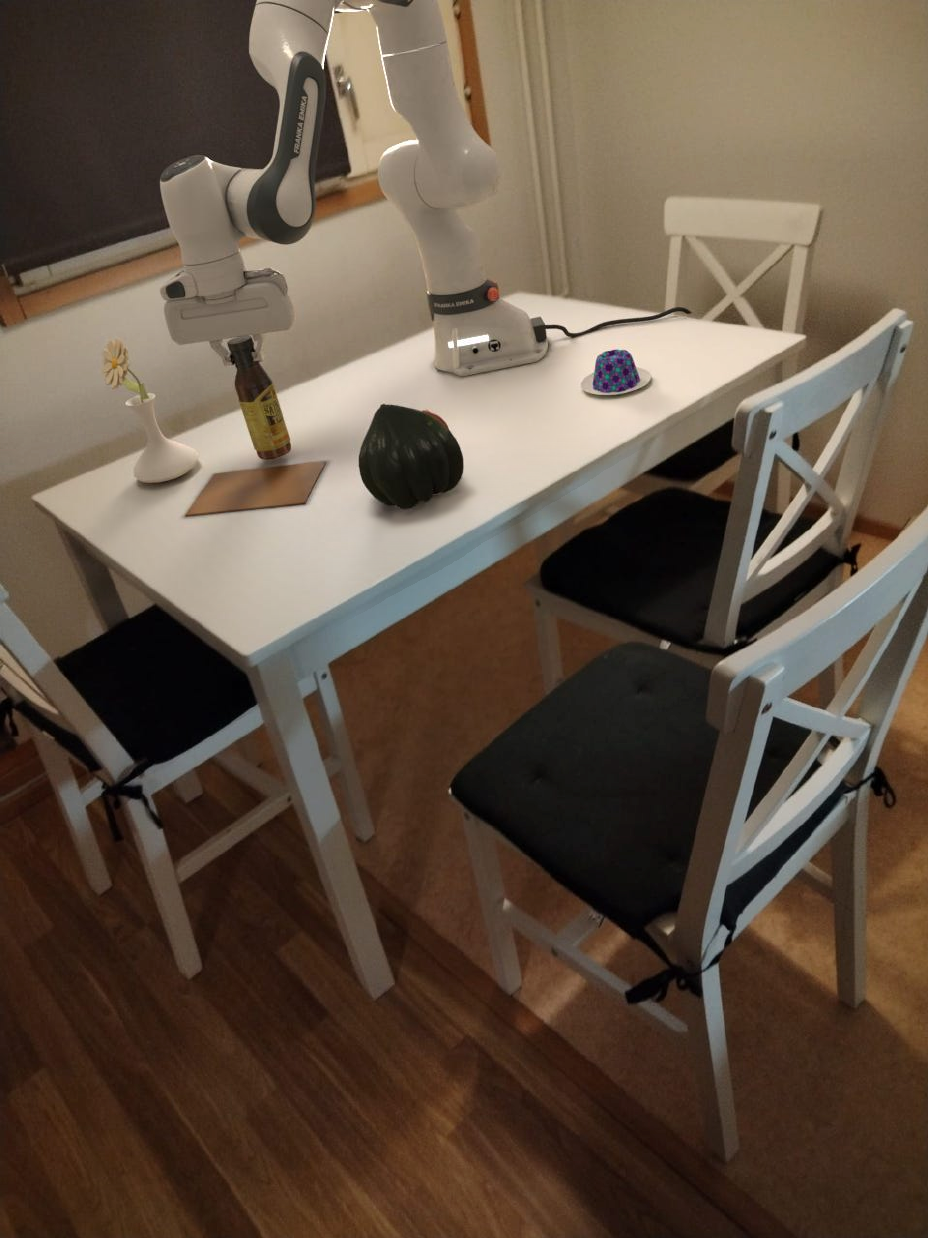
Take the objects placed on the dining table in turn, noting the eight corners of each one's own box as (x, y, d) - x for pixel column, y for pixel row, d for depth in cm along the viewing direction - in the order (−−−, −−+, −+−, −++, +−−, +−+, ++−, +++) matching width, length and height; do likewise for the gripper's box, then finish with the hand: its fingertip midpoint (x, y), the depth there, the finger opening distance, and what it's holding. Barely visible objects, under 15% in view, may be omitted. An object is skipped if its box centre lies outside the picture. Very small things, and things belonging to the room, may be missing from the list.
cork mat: (326, 462, 154) (325, 460, 154) (305, 503, 143) (304, 502, 143) (214, 474, 158) (213, 473, 158) (185, 516, 147) (185, 514, 147)
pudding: (593, 370, 166) (591, 341, 163) (659, 370, 161) (658, 341, 158) (571, 398, 158) (567, 368, 155) (640, 399, 153) (637, 369, 150)
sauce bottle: (286, 460, 155) (248, 345, 144) (252, 463, 157) (212, 349, 146) (298, 442, 161) (263, 330, 149) (266, 446, 162) (228, 334, 151)
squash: (478, 473, 129) (440, 376, 130) (376, 508, 127) (339, 409, 129) (469, 501, 143) (435, 412, 144) (377, 533, 141) (344, 443, 143)
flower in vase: (133, 472, 165) (75, 335, 151) (195, 451, 168) (144, 315, 154) (142, 499, 155) (81, 355, 141) (208, 477, 158) (155, 333, 143)
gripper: (287, 259, 142) (311, 347, 150) (164, 278, 146) (194, 363, 154) (275, 271, 137) (301, 361, 145) (149, 291, 141) (180, 377, 149)
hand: (245, 362), depth 150 cm, fingers closed on sauce bottle, 4 cm apart
